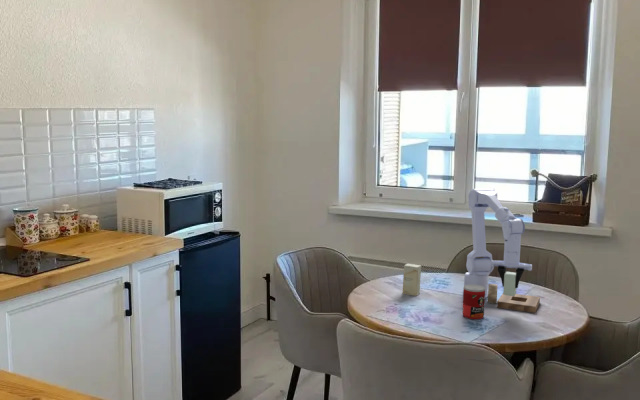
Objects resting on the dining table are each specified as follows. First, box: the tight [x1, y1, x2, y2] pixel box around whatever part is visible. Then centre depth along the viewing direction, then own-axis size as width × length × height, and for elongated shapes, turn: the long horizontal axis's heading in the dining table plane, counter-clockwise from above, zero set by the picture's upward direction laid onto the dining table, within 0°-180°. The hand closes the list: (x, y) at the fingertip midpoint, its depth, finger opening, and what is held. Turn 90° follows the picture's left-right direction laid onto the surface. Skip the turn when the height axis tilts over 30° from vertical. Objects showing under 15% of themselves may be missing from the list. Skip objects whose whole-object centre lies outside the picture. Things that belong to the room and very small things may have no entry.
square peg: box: [502, 271, 517, 296], centre depth 228 cm, size 4×4×8 cm
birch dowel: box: [487, 283, 499, 304], centre depth 242 cm, size 4×4×7 cm
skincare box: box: [402, 263, 422, 297], centre depth 252 cm, size 6×4×12 cm
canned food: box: [462, 284, 486, 320], centre depth 224 cm, size 8×8×11 cm
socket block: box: [496, 293, 541, 314], centre depth 239 cm, size 14×14×2 cm
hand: (510, 286), depth 228 cm, fingers closed on square peg, 4 cm apart
